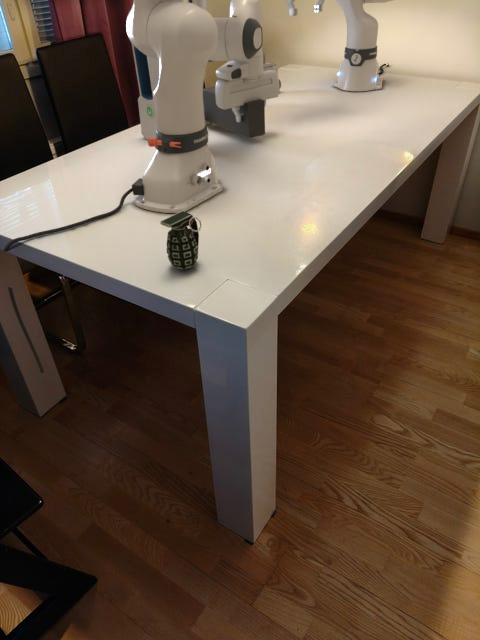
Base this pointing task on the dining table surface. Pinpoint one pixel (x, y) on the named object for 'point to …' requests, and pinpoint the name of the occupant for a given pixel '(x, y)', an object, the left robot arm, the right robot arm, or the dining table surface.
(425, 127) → the dining table surface
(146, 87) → the electronic device
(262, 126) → the bar
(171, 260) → the grenade
